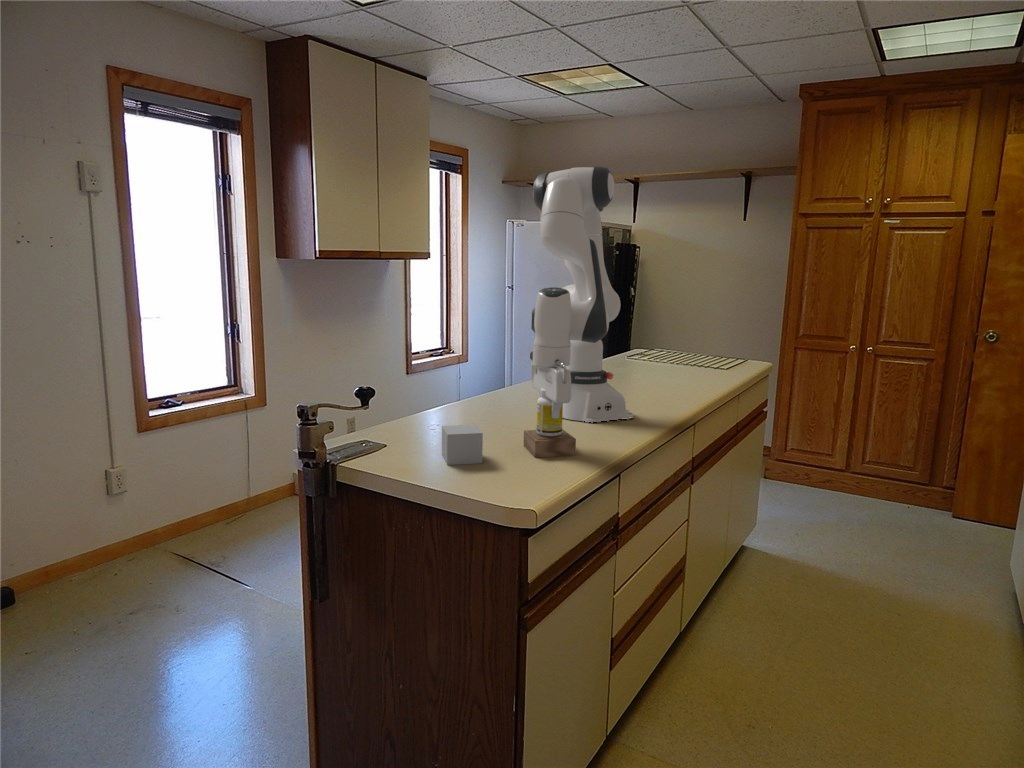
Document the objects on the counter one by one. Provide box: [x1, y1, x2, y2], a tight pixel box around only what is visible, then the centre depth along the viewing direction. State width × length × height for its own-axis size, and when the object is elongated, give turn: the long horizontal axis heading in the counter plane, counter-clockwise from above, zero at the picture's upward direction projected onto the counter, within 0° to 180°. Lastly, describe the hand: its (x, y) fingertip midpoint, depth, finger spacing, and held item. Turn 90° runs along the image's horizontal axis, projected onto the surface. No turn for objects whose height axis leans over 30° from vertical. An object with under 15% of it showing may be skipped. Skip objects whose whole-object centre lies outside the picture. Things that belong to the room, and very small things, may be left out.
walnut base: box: [523, 428, 577, 458], centre depth 160 cm, size 10×10×4 cm
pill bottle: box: [536, 388, 563, 437], centre depth 159 cm, size 6×6×11 cm
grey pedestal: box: [441, 424, 484, 466], centre depth 151 cm, size 8×8×7 cm
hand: (549, 414), depth 159 cm, fingers closed on pill bottle, 6 cm apart
